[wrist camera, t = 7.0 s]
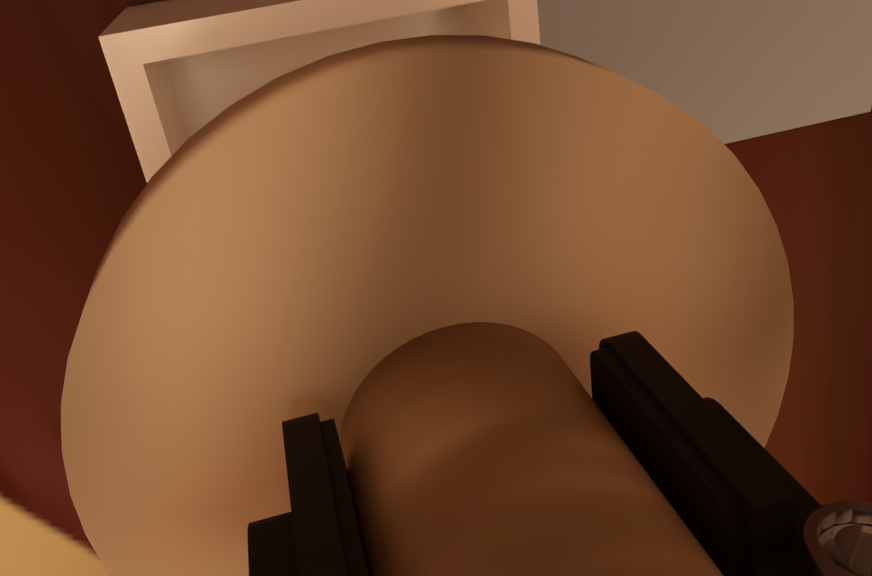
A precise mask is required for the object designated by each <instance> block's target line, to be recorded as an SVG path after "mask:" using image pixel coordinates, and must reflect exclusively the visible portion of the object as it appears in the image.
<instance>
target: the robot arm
mask: <svg viewBox="0 0 872 576" xmlns="http://www.w3.org/2000/svg"><path fill="white" fill-rule="evenodd" d="M590 371H591V388H592V399H593V400H594V402H595V403H596V405H597V406H598V407H599V409H600V410H601V411H602V413H603V414H604V415H605V417H606V418H607V419H608V421H609V422H610V423H611V425H612V426H613V427H614V429H615V430H616V431H617V433H618V434H619V435H620V437H621V438H622V439H623V441H624V442H625V444H626V445H627V446H628V448H629V449H630V450H631V452H632V453H633V454H634V456H635V457H636V458H637V460H638V461H639V462H640V464H641V465H642V466H643V468H644V469H645V470H646V472H647V473H648V474H649V476H650V477H651V479H652V480H653V481H654V483H655V484H656V485H657V487H658V488H659V489H660V491H661V492H662V493H663V495H664V496H665V497H666V499H667V500H668V501H669V503H670V504H671V505H672V507H673V508H674V509H675V511H676V512H677V513H678V515H679V516H680V518H681V519H682V520H683V522H684V523H685V524H686V526H687V527H688V528H689V530H690V531H691V532H692V534H693V535H694V536H695V538H696V539H697V540H698V542H699V543H700V544H701V546H702V547H703V548H704V550H705V551H706V553H707V554H708V555H709V557H710V558H711V559H712V561H713V562H714V563H715V565H716V566H717V567H718V569H719V570H720V571H721V573H722V574H723V575H724V576H872V503H866V502H860V501H838V502H834V503H831V504H827V505H823V506H821V505H820V504H819V503H818V502H817V501H816V500H815V499H814V498H813V497H812V496H811V495H810V494H809V493H808V492H807V491H806V490H805V489H804V488H803V487H802V486H801V485H800V484H799V483H798V482H797V481H796V480H795V479H794V478H793V477H792V476H791V475H790V474H789V473H788V472H787V471H786V470H785V469H784V468H783V467H782V466H781V465H780V464H779V463H778V462H777V461H776V460H775V459H774V458H773V457H772V456H771V455H770V454H769V453H768V452H767V451H766V450H765V449H764V448H763V447H762V446H761V445H760V443H759V442H758V441H757V440H756V439H755V438H754V437H753V436H752V435H751V434H750V433H749V432H748V431H747V430H746V429H745V428H744V427H743V426H742V425H741V424H740V423H739V422H738V421H737V420H736V419H735V418H734V417H733V416H732V415H731V414H730V413H729V412H728V411H727V410H726V409H725V408H724V407H723V406H722V405H721V404H720V403H718V402H717V401H716V400H714V399H713V398H709V397H706V398H702V397H701V396H700V395H699V394H698V393H697V392H696V391H695V390H694V389H693V388H692V387H691V385H690V384H689V383H688V382H687V381H686V380H685V379H684V378H683V377H682V376H681V375H680V374H679V373H678V372H677V371H676V370H675V369H674V368H673V367H672V366H671V365H670V364H669V363H668V362H667V361H666V360H665V359H664V358H663V357H662V355H661V354H660V353H659V352H658V351H657V350H656V349H655V348H654V347H653V346H652V345H651V344H650V343H649V342H648V341H647V340H646V339H645V338H644V337H643V336H642V335H641V334H640V333H639V332H637V331H631V332H627V333H624V334H620V335H616V336H612V337H608V338H604V339H602V340H601V341H600V344H599V349H598V350H594V351H592V352H591V354H590ZM282 430H283V440H284V449H285V458H286V467H287V477H288V486H289V495H290V504H291V512H287V513H284V514H280V515H276V516H273V517H269V518H266V519H262V520H258V521H255V522H251V523H249V524H248V533H247V537H248V565H249V576H370V574H369V570H368V565H367V560H366V556H365V551H364V546H363V542H362V537H361V533H360V528H359V523H358V519H357V514H356V509H355V505H354V500H353V495H352V491H351V486H350V481H349V477H348V472H347V468H346V464H345V460H344V456H343V452H342V448H341V444H340V440H339V436H338V432H337V428H336V424H335V420H334V418H333V419H329V420H325V421H321V422H320V418H319V415H318V412H317V413H313V414H309V415H306V416H302V417H298V418H294V419H290V420H286V421H282Z"/></svg>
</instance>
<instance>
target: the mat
mask: <svg viewBox="0 0 872 576" xmlns="http://www.w3.org/2000/svg"><path fill="white" fill-rule="evenodd" d="M537 6H538V19H539V32H540V45H542V46H545V47H548V48H551V49H554V50H558V51H561V52H564V53H567V54H570V55H574V56H577V57H580V58H582V59H584V60H587V61H589V62H591V63H594V64H596V65H598V66H601V67H603V68H605V69H608V70H610V71H612V72H615V73H617V74H619V75H622V76H624V77H626V78H628V79H630V80H632V81H634V82H636V83H638V84H640V85H642V86H644V87H646V88H648V89H650V90H652V91H654V92H656V93H658V94H660V95H662V96H664V97H666V98H668V99H669V100H670V101H672V102H673V103H675V104H676V105H677V106H679V107H680V108H682V109H683V110H684V111H686V112H687V113H689V114H690V115H692V116H693V117H694V118H696V119H697V120H699V121H700V122H701V123H703V124H704V125H705V126H706V127H707V128H708V129H709V130H710V131H711V132H712V133H713V134H714V135H715V136H716V137H717V138H718V139H719V140H720V141H721V142H722V143H723V144H726V143H731V142H735V141H740V140H744V139H749V138H753V137H758V136H762V135H767V134H771V133H776V132H780V131H785V130H789V129H794V128H798V127H802V126H807V125H811V124H816V123H820V122H825V121H829V120H834V119H838V118H843V117H847V116H852V115H856V114H861V113H865V112H870V111H871V105H872V0H537Z"/></svg>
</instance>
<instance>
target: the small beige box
mask: <svg viewBox="0 0 872 576" xmlns="http://www.w3.org/2000/svg"><path fill="white" fill-rule="evenodd" d="M428 35H485V36H492V37H498V38H504V39H511V40H517V41H524V42H530V43H535V44H538V45H540V32H539V19H538V6H537V0H165V1H159V2H153V3H148V4H142V5H136V6H131V7H126V8H125V9H124V10H123V11H122V12H121V14H120V15H119V16H118V17H117V18H116V19H115V20H114V21H113V22H112V23H111V24H110V25H109V26H108V27H107V28H106V29H105V30H104V31H103V32H102V33H101V34H100V35H99V36H98V37H99V40H100V43H101V46H102V49H103V52H104V55H105V58H106V61H107V64H108V67H109V70H110V73H111V76H112V79H113V82H114V86H115V89H116V92H117V95H118V98H119V101H120V104H121V107H122V110H123V113H124V116H125V119H126V122H127V125H128V128H129V131H130V134H131V137H132V140H133V143H134V146H135V149H136V152H137V155H138V158H139V161H140V164H141V167H142V170H143V173H144V176H145V179H146V182H147V183H148V182H149V180H150V179H151V177H152V176H153V175H154V174H155V173H156V172H157V171H158V170H159V169H160V168H161V167H162V166H163V165H164V164H165V163H166V162H167V160H168V159H169V158H170V157H171V156H172V155H173V154H174V153H175V152H176V151H177V150H178V149H179V148H180V147H181V146H182V145H183V144H184V143H185V141H186V140H187V139H189V138H190V137H191V136H192V135H194V134H195V133H196V132H197V131H199V130H200V129H201V128H202V127H204V126H205V125H206V124H207V123H209V122H210V121H211V120H212V119H214V118H215V117H216V116H217V115H219V114H220V113H221V112H222V111H224V110H225V109H226V108H227V107H229V106H230V105H232V104H233V103H235V102H237V101H238V100H240V99H242V98H243V97H245V96H247V95H249V94H250V93H252V92H254V91H255V90H257V89H259V88H260V87H262V86H264V85H265V84H267V83H269V82H270V81H272V80H274V79H275V78H277V77H279V76H282V75H284V74H287V73H289V72H291V71H294V70H296V69H298V68H301V67H303V66H305V65H308V64H310V63H313V62H315V61H317V60H320V59H322V58H324V57H327V56H330V55H333V54H337V53H341V52H344V51H348V50H352V49H355V48H359V47H363V46H366V45H370V44H374V43H378V42H382V41H390V40H397V39H405V38H413V37H421V36H428Z"/></svg>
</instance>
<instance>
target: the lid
mask: <svg viewBox="0 0 872 576" xmlns="http://www.w3.org/2000/svg"><path fill="white" fill-rule="evenodd" d="M793 310H794V301H793V294H792V287H791V280H790V273H789V266H788V261H787V258H786V254H785V251H784V248H783V245H782V241H781V238H780V235H779V231H778V228H777V225H776V223H775V221H774V219H773V217H772V215H771V213H770V211H769V209H768V207H767V205H766V203H765V200H764V198H763V196H762V194H761V192H760V190H759V188H758V187H757V186H756V184H755V183H754V182H753V180H752V179H751V177H750V176H749V175H748V173H747V172H746V170H745V169H744V168H743V166H742V165H741V163H740V162H739V161H738V159H737V158H736V156H735V155H734V154H733V153H732V152H731V151H730V150H729V149H728V148H727V147H726V146H725V145H724V144H723V143H722V142H721V141H720V140H719V139H718V138H717V137H716V136H715V135H714V134H713V133H712V132H711V131H710V130H709V129H708V128H707V127H706V126H705V125H704V124H703V123H701V122H700V121H699V120H697V119H696V118H694V117H693V116H692V115H690V114H689V113H687V112H686V111H684V110H683V109H682V108H680V107H679V106H677V105H676V104H675V103H673V102H672V101H670V100H669V99H668V98H666V97H664V96H662V95H660V94H658V93H656V92H654V91H652V90H650V89H648V88H646V87H644V86H642V85H640V84H638V83H636V82H634V81H632V80H630V79H628V78H626V77H624V76H622V75H619V74H617V73H615V72H612V71H610V70H608V69H605V68H603V67H601V66H598V65H596V64H594V63H591V62H589V61H587V60H584V59H582V58H580V57H577V56H574V55H570V54H567V53H564V52H561V51H558V50H554V49H551V48H548V47H545V46H542V45H538V44H535V43H530V42H524V41H517V40H511V39H504V38H498V37H492V36H485V35H428V36H421V37H413V38H405V39H397V40H390V41H382V42H378V43H374V44H370V45H366V46H363V47H359V48H355V49H352V50H348V51H344V52H341V53H337V54H333V55H330V56H327V57H324V58H322V59H320V60H317V61H315V62H313V63H310V64H308V65H305V66H303V67H301V68H298V69H296V70H294V71H291V72H289V73H287V74H284V75H282V76H279V77H277V78H275V79H274V80H272V81H270V82H269V83H267V84H265V85H264V86H262V87H260V88H259V89H257V90H255V91H254V92H252V93H250V94H249V95H247V96H245V97H243V98H242V99H240V100H238V101H237V102H235V103H233V104H232V105H230V106H229V107H227V108H226V109H225V110H224V111H222V112H221V113H220V114H219V115H217V116H216V117H215V118H214V119H212V120H211V121H210V122H209V123H207V124H206V125H205V126H204V127H202V128H201V129H200V130H199V131H197V132H196V133H195V134H194V135H192V136H191V137H190V138H189V139H187V140H186V141H185V143H184V144H183V145H182V146H181V147H180V148H179V149H178V150H177V151H176V152H175V153H174V154H173V155H172V156H171V157H170V158H169V159H168V160H167V162H166V163H165V164H164V165H163V166H162V167H161V168H160V169H159V170H158V171H157V172H156V173H155V174H154V175H153V176H152V177H151V179H150V180H149V182H148V183H147V184H146V186H145V187H144V189H143V190H142V191H141V193H140V194H139V196H138V197H137V199H136V200H135V201H134V203H133V204H132V206H131V207H130V208H129V210H128V211H127V213H126V214H125V215H124V217H123V218H122V220H121V222H120V224H119V226H118V228H117V230H116V232H115V234H114V236H113V238H112V240H111V242H110V244H109V246H108V248H107V250H106V252H105V254H104V256H103V258H102V260H101V262H100V264H99V267H98V269H97V272H96V275H95V278H94V281H93V284H92V286H91V289H90V292H89V295H88V298H87V301H86V303H85V306H84V309H83V312H82V315H81V319H80V322H79V325H78V328H77V331H76V334H75V337H74V340H73V343H72V347H71V350H70V353H69V356H68V361H67V368H66V374H65V381H64V388H63V395H62V401H61V435H62V455H63V460H64V465H65V470H66V475H67V480H68V485H69V490H70V495H71V498H72V501H73V503H74V506H75V508H76V511H77V514H78V516H79V519H80V521H81V524H82V527H83V529H84V532H85V534H86V536H87V538H88V540H89V541H90V543H91V545H92V546H93V548H94V550H95V551H96V553H97V555H98V556H99V558H100V560H101V561H102V563H103V565H104V567H105V568H106V570H107V571H108V572H109V574H110V575H111V576H249V565H248V537H247V533H248V524H249V523H251V522H255V521H258V520H262V519H266V518H269V517H273V516H276V515H280V514H284V513H287V512H291V504H290V495H289V486H288V477H287V467H286V458H285V449H284V440H283V430H282V421H286V420H290V419H294V418H298V417H302V416H306V415H309V414H313V413H317V412H318V415H319V418H320V422H321V421H325V420H329V419H333V418H334V420H335V424H336V428H337V432H338V436H339V440H340V444H341V448H342V452H343V456H344V460H345V464H346V468H347V472H348V477H349V481H350V486H351V491H352V495H353V500H354V505H355V509H356V514H357V519H358V523H359V528H360V533H361V537H362V542H363V546H364V551H365V556H366V560H367V565H368V570H369V574H370V576H724V575H723V574H722V573H721V571H720V570H719V569H718V567H717V566H716V565H715V563H714V562H713V561H712V559H711V558H710V557H709V555H708V554H707V553H706V551H705V550H704V548H703V547H702V546H701V544H700V543H699V542H698V540H697V539H696V538H695V536H694V535H693V534H692V532H691V531H690V530H689V528H688V527H687V526H686V524H685V523H684V522H683V520H682V519H681V518H680V516H679V515H678V513H677V512H676V511H675V509H674V508H673V507H672V505H671V504H670V503H669V501H668V500H667V499H666V497H665V496H664V495H663V493H662V492H661V491H660V489H659V488H658V487H657V485H656V484H655V483H654V481H653V480H652V479H651V477H650V476H649V474H648V473H647V472H646V470H645V469H644V468H643V466H642V465H641V464H640V462H639V461H638V460H637V458H636V457H635V456H634V454H633V453H632V452H631V450H630V449H629V448H628V446H627V445H626V444H625V442H624V441H623V439H622V438H621V437H620V435H619V434H618V433H617V431H616V430H615V429H614V427H613V426H612V425H611V423H610V422H609V421H608V419H607V418H606V417H605V415H604V414H603V413H602V411H601V410H600V409H599V407H598V406H597V405H596V403H595V402H594V400H593V399H592V388H591V371H590V354H591V352H592V351H594V350H598V349H599V344H600V341H601V340H602V339H604V338H608V337H612V336H616V335H620V334H624V333H627V332H631V331H637V332H639V333H640V334H641V335H642V336H643V337H644V338H645V339H646V340H647V341H648V342H649V343H650V344H651V345H652V346H653V347H654V348H655V349H656V350H657V351H658V352H659V353H660V354H661V355H662V357H663V358H664V359H665V360H666V361H667V362H668V363H669V364H670V365H671V366H672V367H673V368H674V369H675V370H676V371H677V372H678V373H679V374H680V375H681V376H682V377H683V378H684V379H685V380H686V381H687V382H688V383H689V384H690V385H691V387H692V388H693V389H694V390H695V391H696V392H697V393H698V394H699V395H700V396H701V397H702V398H706V397H709V398H713V399H714V400H716V401H717V402H718V403H720V404H721V405H722V406H723V407H724V408H725V409H726V410H727V411H728V412H729V413H730V414H731V415H732V416H733V417H734V418H735V419H736V420H737V421H738V422H739V423H740V424H741V425H742V426H743V427H744V428H745V429H746V430H747V431H748V432H749V433H750V434H751V435H752V436H753V437H754V438H755V439H756V440H757V441H758V442H759V443H760V445H761V446H762V447H763V448H765V445H766V443H767V440H768V438H769V435H770V433H771V430H772V428H773V425H774V423H775V420H776V418H777V415H778V412H779V409H780V405H781V401H782V398H783V394H784V390H785V387H786V383H787V379H788V374H789V367H790V360H791V353H792V346H793Z"/></svg>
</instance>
